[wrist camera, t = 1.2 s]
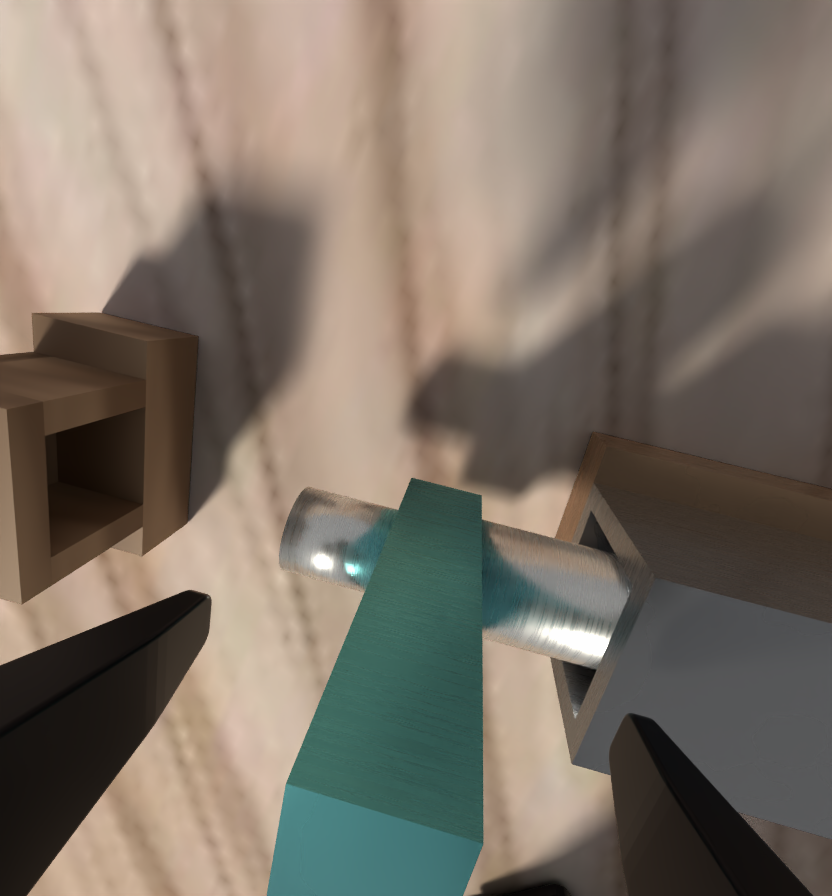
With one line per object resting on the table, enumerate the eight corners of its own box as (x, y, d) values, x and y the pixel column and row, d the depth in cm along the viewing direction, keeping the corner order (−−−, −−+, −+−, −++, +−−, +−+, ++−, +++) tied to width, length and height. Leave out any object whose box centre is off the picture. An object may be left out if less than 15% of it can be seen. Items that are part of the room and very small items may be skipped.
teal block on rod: (1015, 631, 12) (2275, 1389, 3) (947, 717, 13) (1812, 1475, 4) (325, 455, 13) (54, 712, 5) (311, 546, 14) (64, 892, 6)
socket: (198, 336, 15) (2, 355, 9) (187, 523, 17) (24, 641, 11) (99, 312, 15) (-159, 314, 9) (101, 500, 17) (-105, 603, 11)
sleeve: (1001, 530, 13) (1445, 718, 7) (875, 708, 15) (1131, 968, 9) (592, 431, 14) (679, 525, 8) (527, 615, 16) (556, 798, 10)
